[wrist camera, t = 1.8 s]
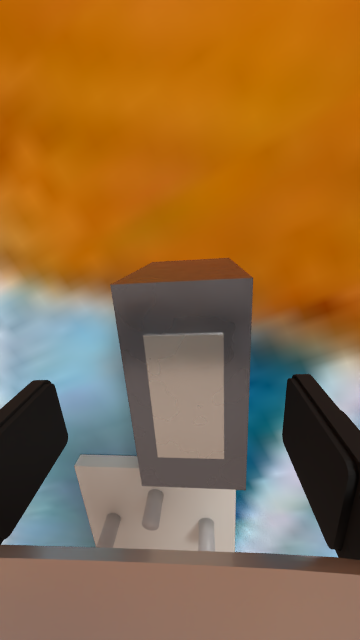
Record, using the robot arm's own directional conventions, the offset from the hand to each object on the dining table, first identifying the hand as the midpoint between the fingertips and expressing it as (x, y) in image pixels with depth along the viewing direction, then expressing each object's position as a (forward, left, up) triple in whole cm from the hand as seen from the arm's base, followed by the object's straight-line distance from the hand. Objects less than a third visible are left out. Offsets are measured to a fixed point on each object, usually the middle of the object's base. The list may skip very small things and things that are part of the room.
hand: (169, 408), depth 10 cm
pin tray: (+3, +22, -8) cm, 24 cm away
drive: (-1, 0, -9) cm, 8 cm away
